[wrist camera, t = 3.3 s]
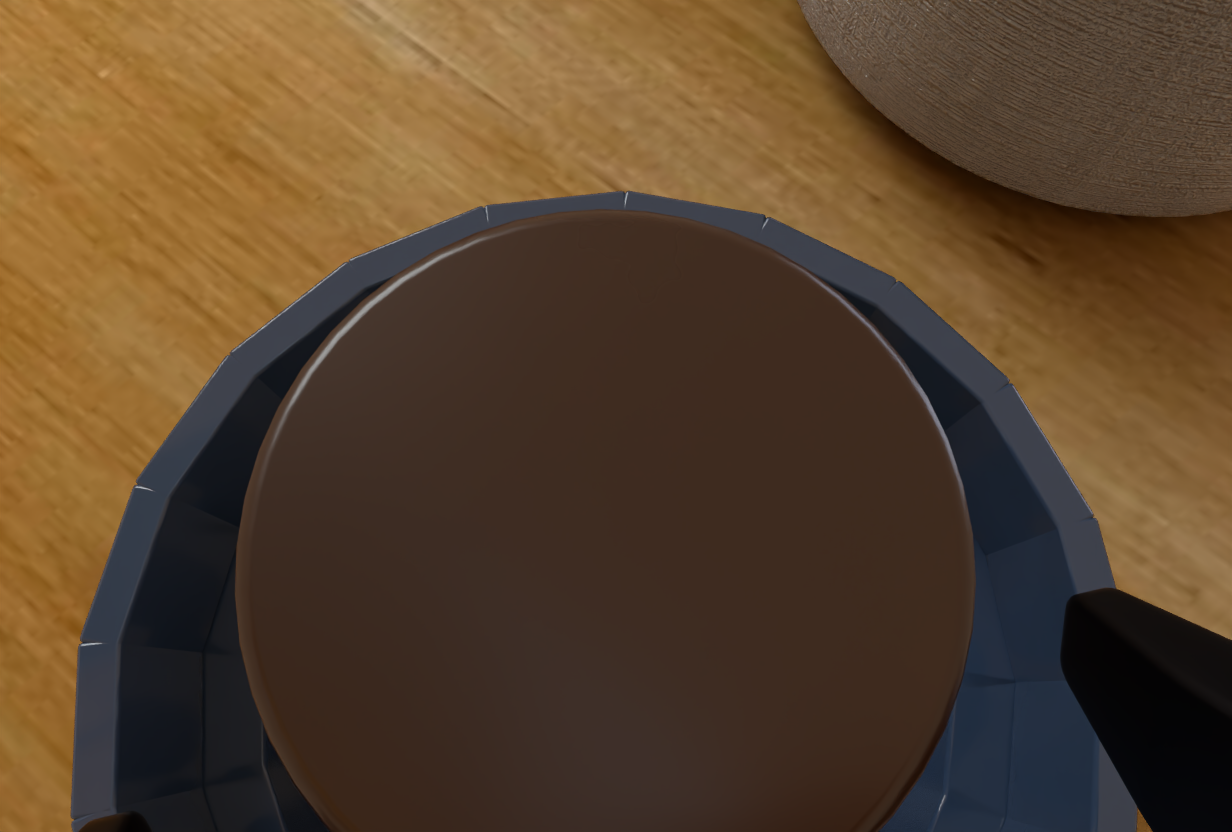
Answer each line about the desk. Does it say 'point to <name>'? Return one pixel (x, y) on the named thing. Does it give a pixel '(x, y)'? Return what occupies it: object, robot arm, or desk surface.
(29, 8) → the desk surface
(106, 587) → the bowl
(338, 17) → the desk surface
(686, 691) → the stirring stick
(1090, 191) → the planter
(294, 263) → the desk surface
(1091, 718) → the robot arm
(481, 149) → the desk surface
